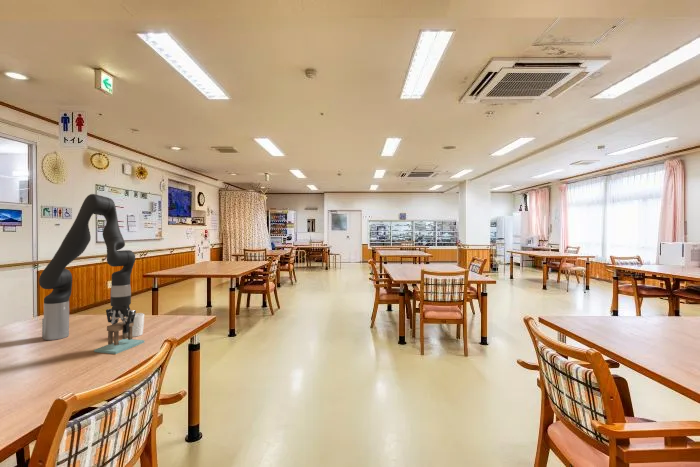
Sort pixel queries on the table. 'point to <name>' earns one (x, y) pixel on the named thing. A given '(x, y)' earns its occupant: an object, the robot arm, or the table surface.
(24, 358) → the table surface
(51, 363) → the table surface
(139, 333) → the white cup
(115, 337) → the tan slab with prongs
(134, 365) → the table surface
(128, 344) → the board
